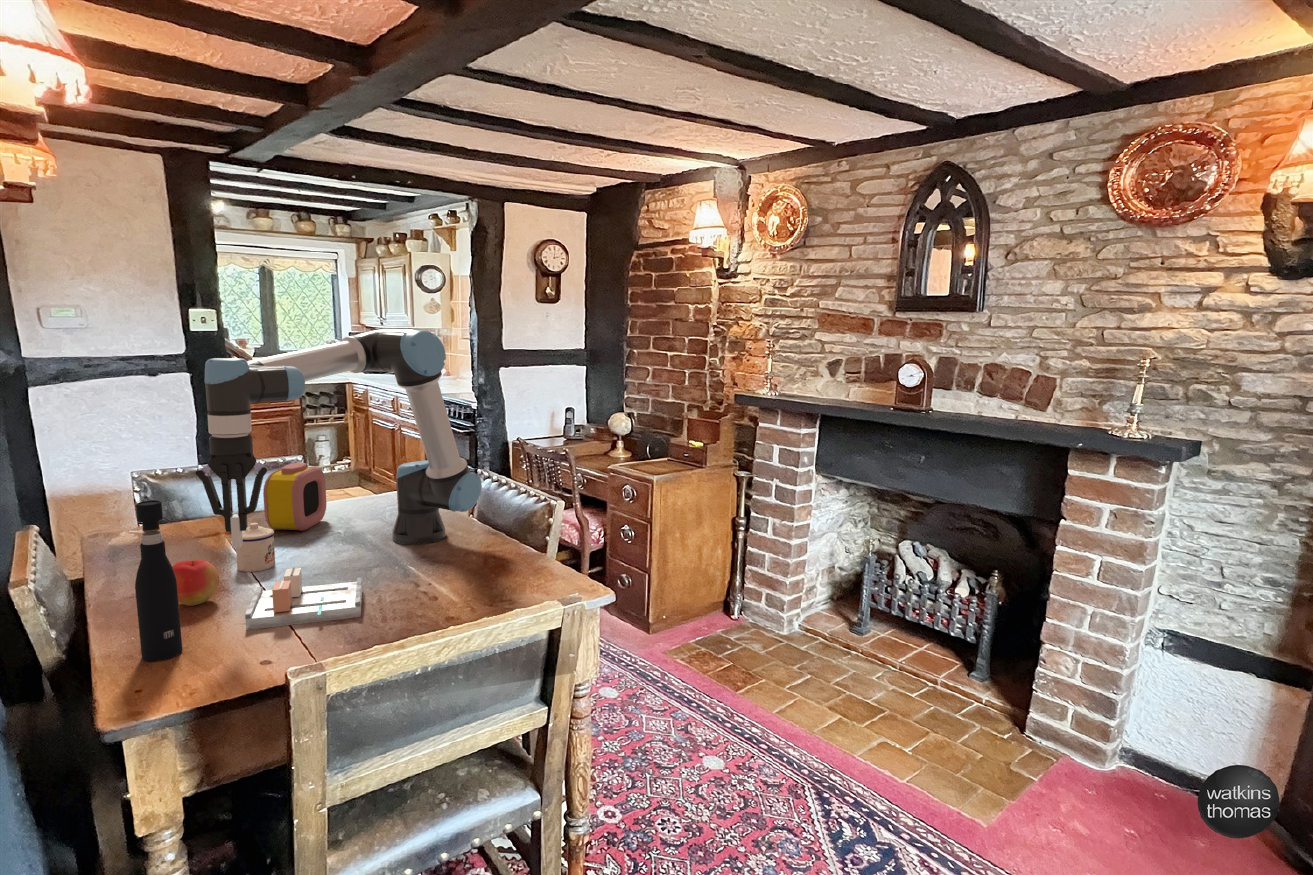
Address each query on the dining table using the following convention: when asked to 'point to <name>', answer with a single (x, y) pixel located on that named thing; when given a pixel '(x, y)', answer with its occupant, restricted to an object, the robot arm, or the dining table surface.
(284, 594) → the fader
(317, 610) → the console
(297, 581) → the fader
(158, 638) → the black water bottle
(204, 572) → the apple
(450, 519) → the dining table surface
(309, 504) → the alarm clock
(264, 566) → the teacup with lid
